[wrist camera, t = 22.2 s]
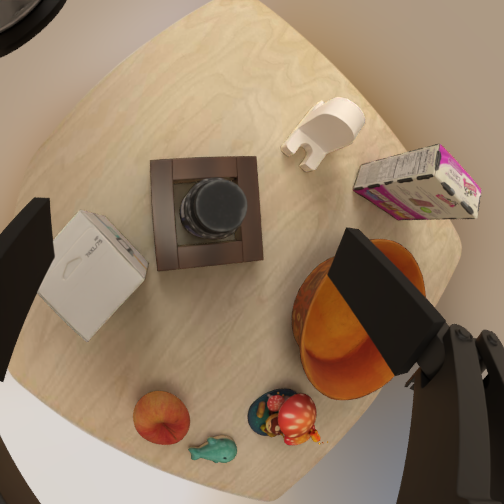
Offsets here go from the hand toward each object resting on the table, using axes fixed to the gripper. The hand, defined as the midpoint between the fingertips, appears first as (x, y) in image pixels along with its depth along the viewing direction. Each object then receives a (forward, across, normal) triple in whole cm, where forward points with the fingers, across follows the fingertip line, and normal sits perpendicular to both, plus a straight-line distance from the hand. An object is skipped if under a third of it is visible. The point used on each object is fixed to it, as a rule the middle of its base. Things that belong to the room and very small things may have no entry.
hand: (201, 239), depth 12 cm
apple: (+11, -1, -32) cm, 34 cm away
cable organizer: (+29, +17, +2) cm, 34 cm away
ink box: (+20, -8, -15) cm, 26 cm away
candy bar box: (+26, +31, -3) cm, 40 cm away
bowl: (+18, +24, -19) cm, 35 cm away
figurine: (+10, +17, -35) cm, 40 cm away
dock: (+23, +4, -9) cm, 25 cm away
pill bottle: (+23, +4, -9) cm, 25 cm away
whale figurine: (+7, +6, -40) cm, 41 cm away
